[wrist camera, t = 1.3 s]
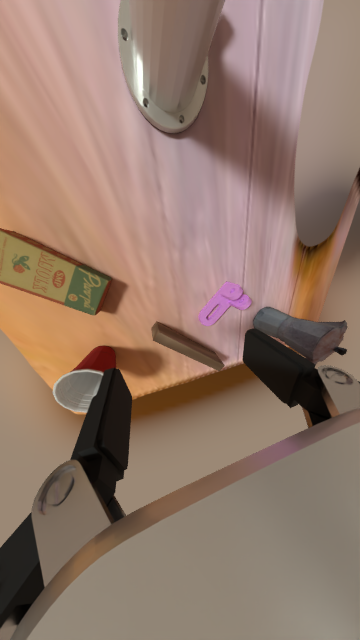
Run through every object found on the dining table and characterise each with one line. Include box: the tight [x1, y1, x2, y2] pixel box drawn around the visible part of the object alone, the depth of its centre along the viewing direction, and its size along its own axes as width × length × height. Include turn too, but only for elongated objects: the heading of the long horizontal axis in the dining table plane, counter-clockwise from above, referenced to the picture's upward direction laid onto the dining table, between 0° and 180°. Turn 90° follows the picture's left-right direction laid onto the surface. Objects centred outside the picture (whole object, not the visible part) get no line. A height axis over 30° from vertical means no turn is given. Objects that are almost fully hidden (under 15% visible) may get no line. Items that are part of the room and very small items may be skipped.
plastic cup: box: [53, 346, 116, 412], centre depth 30 cm, size 11×11×12 cm
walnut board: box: [152, 321, 225, 371], centre depth 38 cm, size 2×24×6 cm, turn 53°
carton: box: [0, 228, 112, 315], centre depth 25 cm, size 8×16×4 cm, turn 60°
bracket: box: [199, 282, 251, 326], centre depth 35 cm, size 13×6×7 cm, turn 139°
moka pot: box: [254, 307, 347, 365], centre depth 37 cm, size 10×15×20 cm, turn 150°
